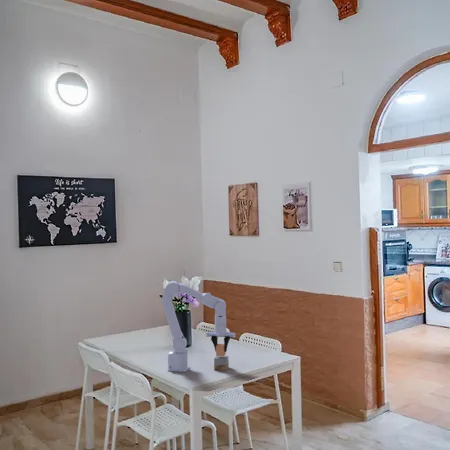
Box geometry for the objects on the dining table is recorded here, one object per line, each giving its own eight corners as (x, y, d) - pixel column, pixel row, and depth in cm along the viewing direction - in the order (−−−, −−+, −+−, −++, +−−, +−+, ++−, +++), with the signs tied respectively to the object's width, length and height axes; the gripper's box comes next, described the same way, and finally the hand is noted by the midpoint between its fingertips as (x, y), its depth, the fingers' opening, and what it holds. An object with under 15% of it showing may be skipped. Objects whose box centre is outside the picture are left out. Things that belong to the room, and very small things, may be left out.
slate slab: (214, 364, 240) (214, 358, 240) (216, 361, 246) (216, 355, 246) (226, 365, 239) (226, 358, 239) (228, 361, 245) (228, 355, 245)
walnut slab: (214, 370, 241) (214, 364, 241) (217, 367, 246) (216, 361, 246) (226, 371, 239) (226, 365, 239) (228, 367, 245) (228, 361, 245)
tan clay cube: (216, 355, 241) (216, 345, 241) (217, 353, 245) (217, 343, 245) (224, 356, 240) (223, 345, 240) (225, 353, 244) (225, 343, 244)
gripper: (204, 325, 241) (204, 352, 240) (233, 326, 238) (233, 353, 237) (207, 322, 247) (208, 349, 247) (235, 323, 244) (236, 350, 244)
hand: (220, 351), depth 243 cm, fingers closed on tan clay cube, 4 cm apart
